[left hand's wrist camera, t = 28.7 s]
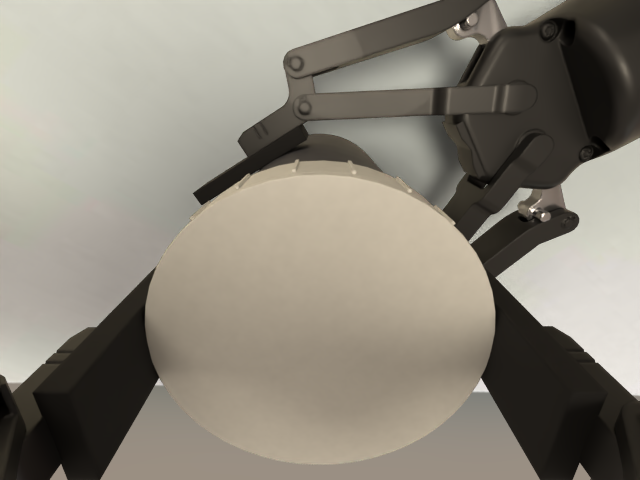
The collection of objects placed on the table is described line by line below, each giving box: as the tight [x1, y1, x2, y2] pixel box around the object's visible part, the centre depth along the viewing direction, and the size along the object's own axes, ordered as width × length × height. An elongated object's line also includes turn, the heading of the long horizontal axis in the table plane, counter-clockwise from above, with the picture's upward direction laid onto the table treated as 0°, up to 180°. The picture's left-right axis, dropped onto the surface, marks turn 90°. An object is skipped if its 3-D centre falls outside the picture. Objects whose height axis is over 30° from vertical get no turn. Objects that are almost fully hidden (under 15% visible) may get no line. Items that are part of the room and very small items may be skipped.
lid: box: [145, 159, 495, 465], centre depth 11 cm, size 11×11×2 cm
